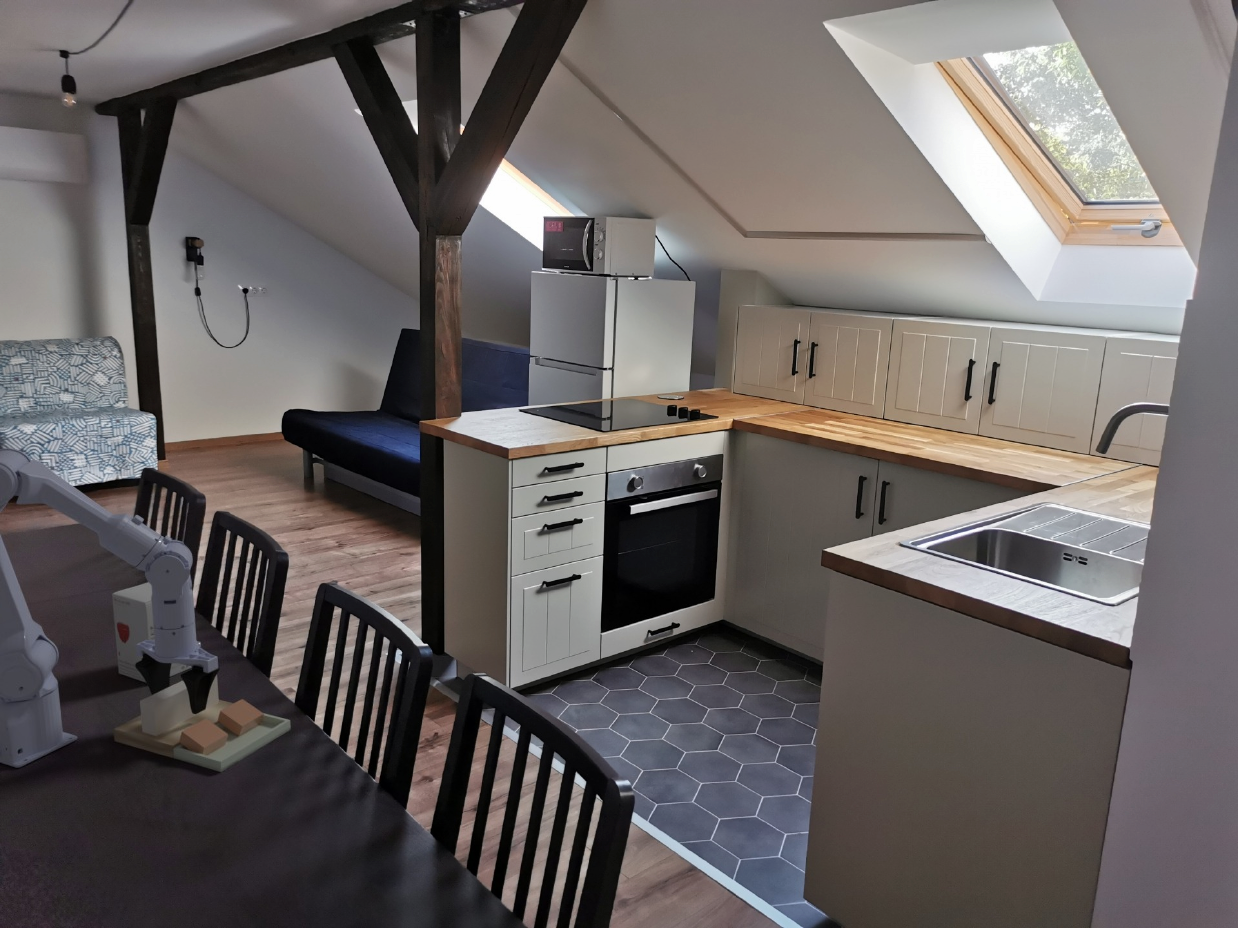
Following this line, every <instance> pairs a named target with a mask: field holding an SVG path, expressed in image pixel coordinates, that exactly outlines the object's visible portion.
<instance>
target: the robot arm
mask: <svg viewBox="0 0 1238 928" xmlns="http://www.w3.org/2000/svg"><path fill="white" fill-rule="evenodd" d="M16 496H17V497H18V498H17V500H16V504H15V505H37V504H44V505H46V506H48V507H50V508H52V509H53V510H55V511H57V512H59V513H61V514H62V515H64V516H66V517H67V518H70V519H71V520H73V521H75V522H77V523H78V524H80V525H82V526H84V527H86V528H88V529H89V530H91V531H92V532H95V533H96V534H97V537H98V542H99V546H100V547H102V548H104V549H106V550H107V551H109V553H111V554H113V555H114V556H117V558H120V559H121V560H123V561H125V562H126V563H128V564H129V565H131V566H132V567H134V568H135V569H137V570H140V571H142V572H145V573H144V576H145V578H146V580H147V582H149V583H150V584H151V586H152V596H151V602H152V614H153V629H154V641H149V640H145V641H143V642H141V643H138V644H136V649H137V656H140V657H143V658H142V660H141V661H139V662H137V663H136V664H135V667H136V669H137V670H138V671H139V672H140V673H141V675H142V676H143V678H144V679H145V681H146V685H147V686H148V689H149V691H150V694H151V695H153V694H156V693H158V692H160V691H162V690H164V689H166V688H168V687H170V686H171V684H170V683H171V681H170V679H171V677H170V670H171V665H172V663H178V664H183V665H187V666H192V668H191V669H190V670H189V669H188V670H186V671H185V672H183V673H181V674H180V678H181V681H184V683H185V685H186V688H187V691H188V695H189V701H190V708H191V711H192V714H198V713H200V712H201V711H203V710H205V709H206V705H207V700H208V696H209V692H210V688H211V686H212V683H213V681H214V679H215V677H216V675H217V676H218V673H219V671H220V668H221V667H220V664H219V661H218V656H216V655H213V654H211V653H209V652H208V651H206V650H204V649H203V647H201V646H202V644H201V643H202V642H201V641H198V640H197V633H196V632H197V631H196V629H197V628H196V617H195V616H196V615H195V603H194V602H195V601H194V599H195V598H194V592H193V589H192V587H193V584H192V583H193V582H192V578H191V568H192V566H193V561H194V560H193V554H192V551H191V550H190V548H189V547H188V546H187V545H185V543H184V542H183V541H181V540H177V539H173V538H172V537H170V536H168V535H165V537H164V536H162V535H161V534H159V533H158V532H156V531H155V530H154V529H152V528H150V527H149V526H147V525H146V524H144V523H143V522H144V520H145V519H144V518H143V517H141V516H140V515H138V514H135V516H134V517H133V516H132V515H130V514H129V513H117V514H116V513H115V514H114V513H111V512H110V511H108V510H107V509H105V507H103V506H102V505H100V504H99V503H97V502H96V501H94V500H93V499H92V498H90V497H89V496H87V495H86V494H84V493H83V492H82V491H81V490H79V489H77V488H76V487H75V486H73V485H72V484H70V482H67V480H65V479H64V478H62V477H61V476H59V475H58V474H56V473H55V472H54V471H52V470H51V469H50V468H49V467H48V466H46V465H45V464H44V463H43V462H41V461H39V460H36V459H35V458H33V459H31V458H30V457H29V455H27V454H26V453H25V452H23V451H21V450H19V449H16V448H11V447H10V448H9V447H7V448H1V449H0V514H1V513H2V511H3V510H4V508H5V507H6V506H7V504H8V503H9V501H10V500H11V499H13V497H16ZM27 604H28V603H27V602H26V599H25V595H24V594H23V591H22V588H21V585H20V583H19V581H18V578H17V575H16V572H15V570H14V566H13V565H12V561H11V559H10V556H9V553H8V551H7V548H6V546H5V543H4V541H3V538H2V535H1V534H0V764H1V763H2V764H3V765H7V766H10V767H14V768H22V767H23V766H26V765H27V764H29V763H32V762H34V761H35V760H38V759H40V758H41V757H43V756H46V755H48V754H50V753H52V752H54V751H56V750H59V749H60V748H62V747H64V746H67V745H69V744H71V743H73V742H75V741H76V740H77V739H78V736H77V735H74V734H71V733H69V732H64V731H63V721H62V714H61V713H62V712H61V701H60V693H59V681H58V680H57V678H56V677H55V676H54V673H53V669H54V668H55V666H57V664H58V661H59V655H60V654H59V650H58V647H57V645H56V644H55V642H53V641H52V640H51V639H49V638H48V637H47V635H46V634H45V633H44V631H43V630H44V629H43V627H42V626H41V625H40V624H39V623H38V622H36V621H35V620H33V618H32V615H31V613H30V609H29V607H28V605H27Z"/></svg>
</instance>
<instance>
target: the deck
mask: <svg viewBox="0 0 1238 928" xmlns="http://www.w3.org/2000/svg"><path fill="white" fill-rule="evenodd" d="M234 703H235V702H230V701H226V700H222V699H219V703H218V704H216V705H214V706H212V707H210V708H209V709H207V710H205V711H203V712H201V713H199V714H197V715H195V716H193V717H192V718H190V719H188V720H186V721H184V722H182V723H180V724H178V725H176V726H174V727H173V728H171V729H169V730H167V731H165V732H163V733H161V734H159V735H157V736H154V735H151V734H147V733H144V732H142V720H141V714H140V715H139V716H137V717H134V718H133V719H131V720H128V721H127V722H125V723H122V724H120V725H118V726H116V727H114V728H113V737H114V742H117V743H120V744H122V745H126V746H131V747H134V748H137V749H141V750H145V751H148V752H150V753H154V754H157V755H161V756H165V757H169V758H172V759H175V758H174V749H173V748H175V747H177V746H179V745H180V744H181V743H179V740H180V736H181V733H182V731H184V730H185V729H187V728H189V727H191V726H193V725H195V724H197V723H198V722H200V721H202V720H204V719H208V720H209V721H210V722H212V723H213V724H215V725H217V724H218V723H219V722H218V717H219V714H220V711H221V710H223V709H225V708H226V707H228V706H230V705H232V704H234Z"/></svg>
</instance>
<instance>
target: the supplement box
mask: <svg viewBox="0 0 1238 928" xmlns="http://www.w3.org/2000/svg"><path fill="white" fill-rule="evenodd" d="M111 596H112V597H111V598H112V610H113V620H114V621H113V622H114V633H115V641H116V643H115V646H116V655H117V657H116V658H117V666H118V667H117V668H118V674H119V675H122V676H125V677H128V678H131V679H134V680H136V681H137V680H138V681H140V682H143V683H146V681H145V679H144V678H143V676H142V675H141V673H140V672H139V671H138V670H137V669H136V667H135V664H136V663H137V662H139V661H141V660H142V658H143V657H140V656H137V649H136V644H138V643H141V642H143V641H145V640H149V641H154V629H153V614H152V602H151V596H152V586H151V584H150V583H149V582H148V581H147V582H144V583H142V584H139V585H138V584H137V585H135V586H132V587H128V588H125V589H122V590H118V591H115V592H113V593H112V594H111ZM189 669H190V670H191V669H192V666H187V665H183V664H178V663H172V665H171V670H170V678H171V677H173V676H175V675H178V674H180V673H182V672H183V673H184V671H185V672H186V671H188V670H189ZM146 684H147V683H146Z"/></svg>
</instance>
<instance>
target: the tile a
mask: <svg viewBox="0 0 1238 928" xmlns="http://www.w3.org/2000/svg"><path fill="white" fill-rule="evenodd" d="M227 737H228V734H227V733H226V732H224V731H223V730H222V729H220V728H219V727H217V726H216V725H215V724H213V723H212V722H210V721H209V720H208V719H204V720H202V721H200V722H198V723H197V724H195V725H193V726H191V727H189V728H187V729H185V730H184V731H182V733H181V736H180V740H179V743H181V744H182V745H184V746H185V747H186V748H188V749H189V750H190V751H193V752H196V753H200V754H203V755H208V754H210V753H212V752H214V751H215V750H217V749H219V748H220V747H222V746H224V745H225V744H226V740H227Z"/></svg>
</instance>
